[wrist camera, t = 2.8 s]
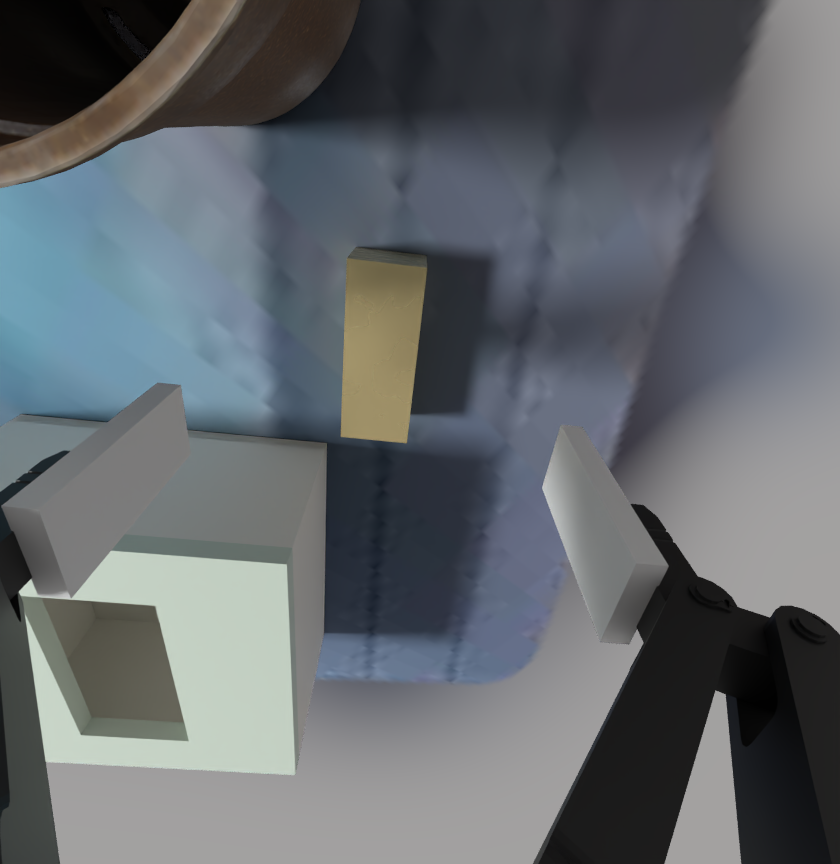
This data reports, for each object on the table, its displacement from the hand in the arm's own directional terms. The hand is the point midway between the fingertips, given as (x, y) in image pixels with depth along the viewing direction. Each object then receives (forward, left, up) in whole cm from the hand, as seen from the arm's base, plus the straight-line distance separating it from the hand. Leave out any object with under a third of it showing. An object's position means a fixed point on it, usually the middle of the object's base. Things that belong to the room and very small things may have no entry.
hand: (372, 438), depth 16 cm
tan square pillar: (0, 0, -11) cm, 11 cm away
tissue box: (-12, -16, -10) cm, 23 cm away
